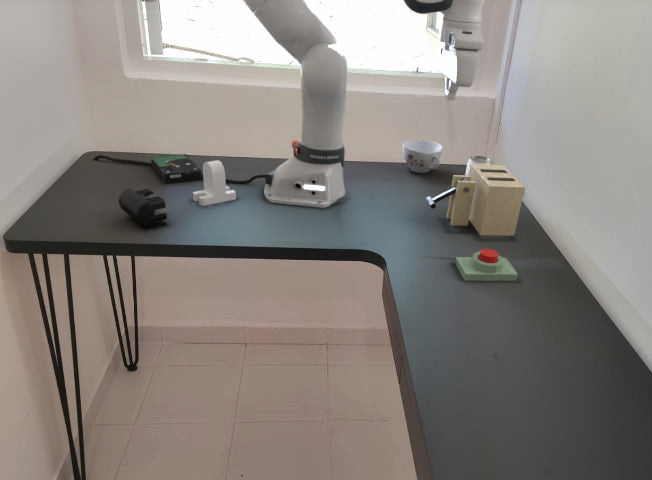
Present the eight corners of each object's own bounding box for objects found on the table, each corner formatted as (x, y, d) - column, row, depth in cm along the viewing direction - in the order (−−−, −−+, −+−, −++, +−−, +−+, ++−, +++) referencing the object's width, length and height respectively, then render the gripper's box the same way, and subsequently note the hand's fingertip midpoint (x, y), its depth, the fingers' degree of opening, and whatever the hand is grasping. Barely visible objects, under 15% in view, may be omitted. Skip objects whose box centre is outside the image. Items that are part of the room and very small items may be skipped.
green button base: (464, 280, 129) (467, 266, 128) (455, 263, 136) (457, 249, 134) (516, 281, 131) (519, 267, 130) (504, 264, 138) (507, 250, 136)
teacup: (392, 165, 191) (395, 141, 187) (423, 161, 198) (426, 137, 193) (420, 181, 181) (423, 155, 177) (451, 176, 187) (455, 151, 183)
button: (481, 264, 130) (483, 256, 129) (476, 255, 133) (477, 248, 132) (499, 264, 131) (500, 257, 130) (493, 255, 134) (494, 248, 133)
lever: (432, 211, 148) (429, 203, 147) (428, 203, 153) (424, 195, 151) (472, 190, 147) (469, 182, 146) (467, 183, 151) (463, 175, 150)
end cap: (120, 217, 141) (116, 190, 137) (149, 211, 145) (146, 184, 142) (139, 232, 135) (135, 204, 131) (168, 225, 139) (165, 198, 136)
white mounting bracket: (236, 199, 157) (235, 162, 151) (202, 206, 151) (199, 167, 145) (226, 192, 160) (224, 156, 154) (192, 199, 154) (189, 161, 149)
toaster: (478, 239, 148) (489, 185, 141) (461, 213, 162) (470, 163, 154) (513, 240, 150) (526, 186, 142) (493, 214, 163) (503, 164, 156)
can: (476, 205, 168) (484, 164, 162) (457, 198, 171) (464, 158, 165) (487, 199, 173) (495, 159, 166) (468, 193, 176) (475, 153, 169)
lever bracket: (449, 232, 151) (457, 184, 144) (441, 219, 157) (448, 172, 150) (471, 232, 152) (480, 184, 145) (463, 220, 158) (471, 173, 151)
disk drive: (202, 180, 166) (186, 162, 176) (202, 170, 165) (185, 153, 175) (165, 184, 161) (150, 166, 171) (164, 174, 160) (149, 156, 170)
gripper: (434, 27, 140) (426, 88, 147) (457, 40, 123) (447, 108, 130) (460, 29, 141) (451, 89, 149) (486, 42, 124) (474, 110, 132)
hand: (449, 98), depth 139 cm, fingers closed
